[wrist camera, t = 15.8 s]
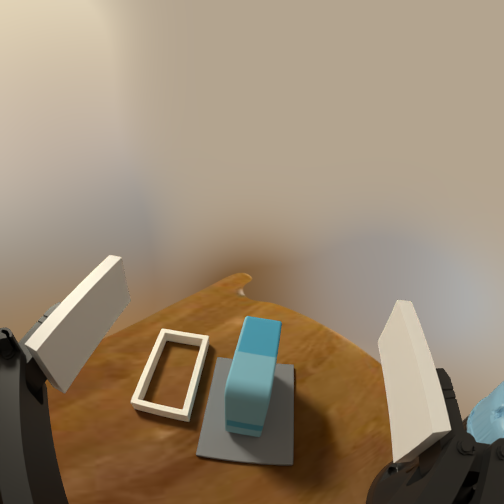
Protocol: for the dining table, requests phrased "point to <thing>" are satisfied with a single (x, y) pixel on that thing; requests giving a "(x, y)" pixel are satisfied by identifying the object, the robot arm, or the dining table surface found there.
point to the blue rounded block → (251, 376)
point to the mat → (244, 446)
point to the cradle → (150, 368)
